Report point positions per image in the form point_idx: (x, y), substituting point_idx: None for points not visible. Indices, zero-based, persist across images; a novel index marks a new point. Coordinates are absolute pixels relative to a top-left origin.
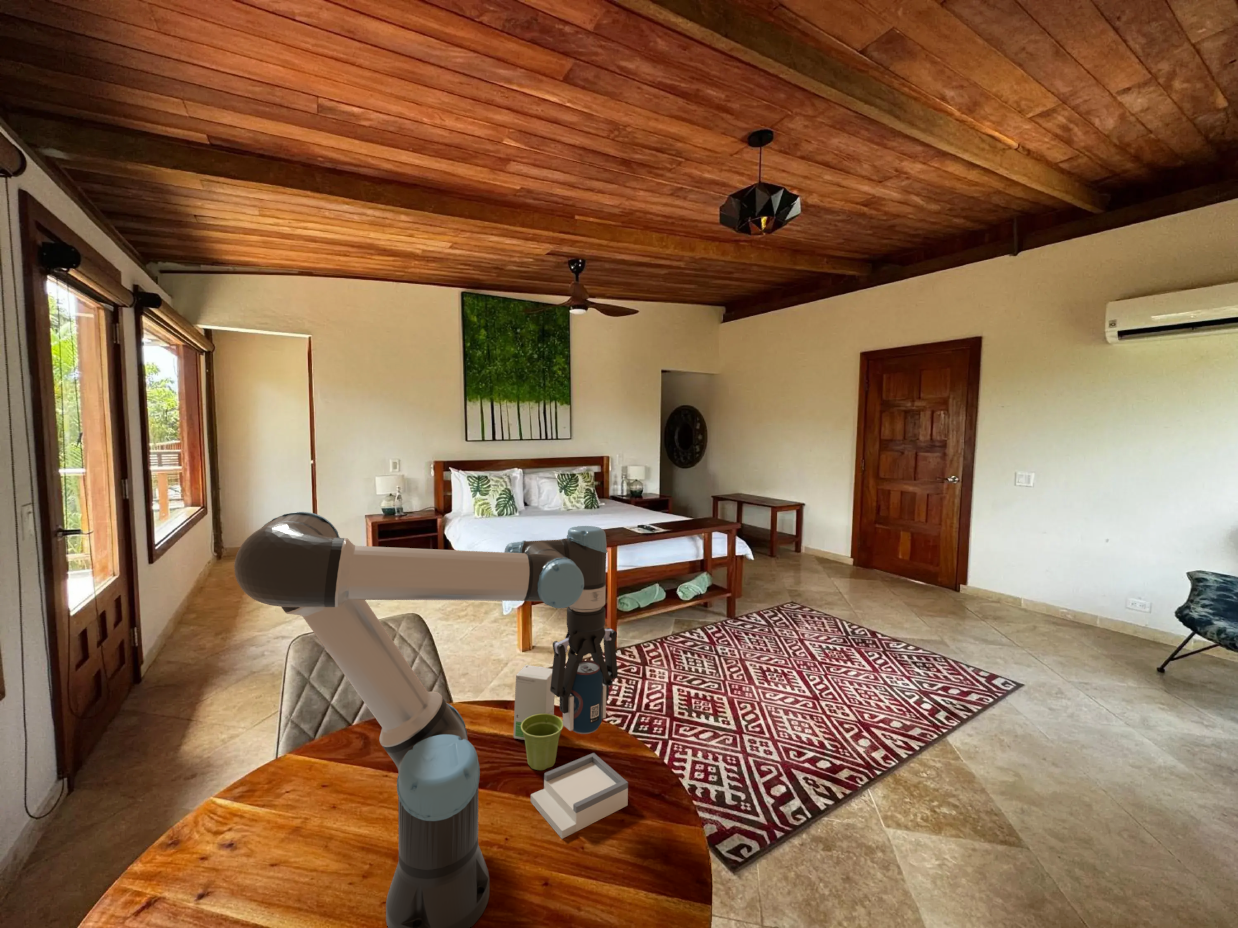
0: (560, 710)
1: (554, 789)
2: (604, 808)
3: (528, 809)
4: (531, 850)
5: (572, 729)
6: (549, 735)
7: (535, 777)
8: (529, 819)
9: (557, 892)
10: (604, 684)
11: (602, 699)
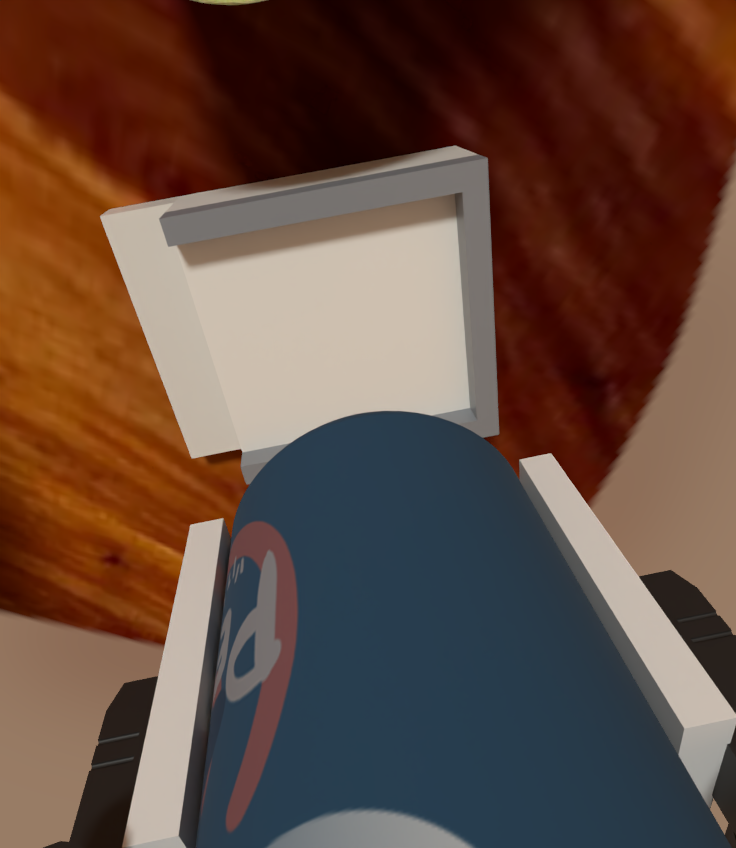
0: (124, 686)
1: (199, 311)
2: None
3: (94, 254)
4: (83, 450)
5: None
6: (223, 1)
7: (162, 17)
8: (92, 313)
9: (139, 587)
10: (715, 787)
11: None
